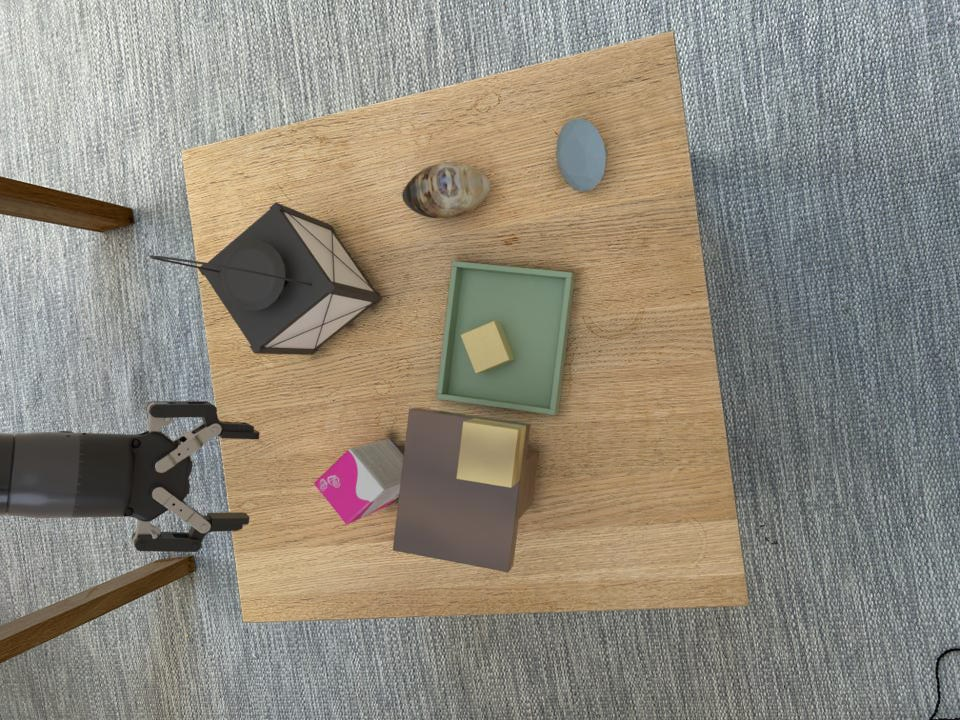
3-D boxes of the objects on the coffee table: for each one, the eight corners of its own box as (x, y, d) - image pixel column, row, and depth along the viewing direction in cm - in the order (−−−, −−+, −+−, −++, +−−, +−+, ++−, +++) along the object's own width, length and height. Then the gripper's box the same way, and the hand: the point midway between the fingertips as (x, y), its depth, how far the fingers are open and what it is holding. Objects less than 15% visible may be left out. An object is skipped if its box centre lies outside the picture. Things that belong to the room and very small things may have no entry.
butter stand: (549, 516, 84) (499, 584, 59) (462, 501, 87) (377, 561, 61) (562, 408, 84) (518, 429, 58) (474, 396, 86) (394, 411, 61)
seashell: (492, 165, 86) (475, 145, 78) (499, 215, 86) (482, 201, 78) (412, 181, 88) (388, 163, 80) (418, 230, 88) (395, 217, 80)
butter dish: (558, 413, 84) (554, 415, 81) (443, 397, 87) (435, 398, 84) (575, 275, 84) (572, 272, 81) (459, 264, 87) (452, 260, 84)
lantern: (384, 299, 89) (261, 269, 62) (311, 356, 91) (162, 352, 64) (331, 223, 91) (189, 162, 63) (261, 281, 93) (94, 246, 65)
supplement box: (389, 436, 89) (350, 446, 78) (422, 475, 88) (387, 491, 77) (355, 468, 90) (311, 483, 79) (387, 507, 89) (347, 528, 78)
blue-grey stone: (620, 101, 80) (584, 107, 77) (642, 172, 80) (607, 180, 77) (574, 128, 86) (540, 134, 83) (595, 194, 87) (561, 202, 84)
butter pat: (493, 320, 82) (500, 322, 85) (460, 334, 83) (468, 336, 86) (509, 359, 81) (515, 359, 85) (475, 373, 82) (482, 373, 86)
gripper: (64, 566, 65) (254, 557, 74) (82, 401, 65) (271, 411, 74) (59, 541, 72) (235, 535, 80) (75, 390, 71) (250, 400, 80)
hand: (252, 476), depth 77 cm, fingers open, 8 cm apart
